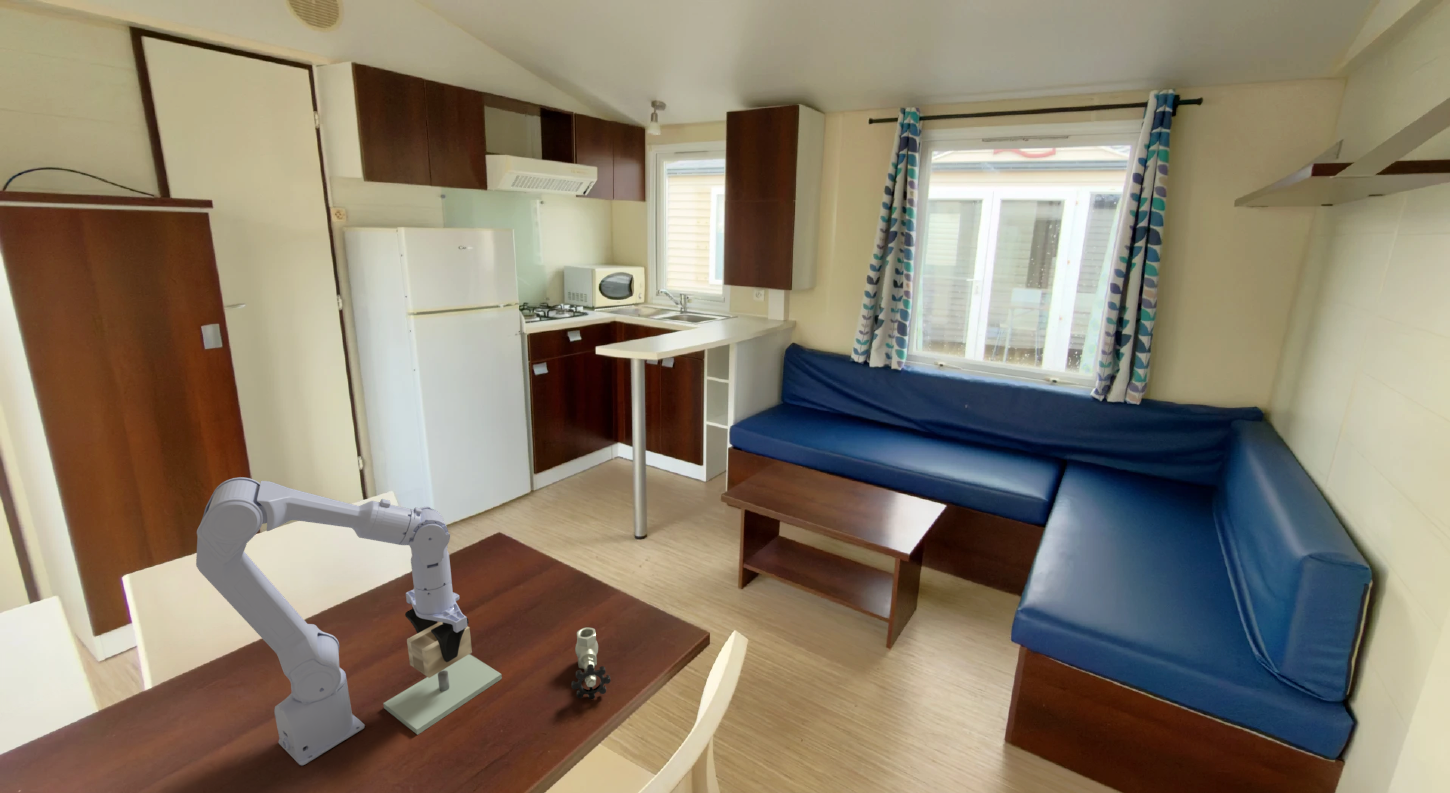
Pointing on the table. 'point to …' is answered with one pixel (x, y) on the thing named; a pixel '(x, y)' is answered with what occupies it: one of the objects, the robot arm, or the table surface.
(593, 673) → the valve
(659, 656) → the table surface
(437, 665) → the collar block
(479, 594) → the table surface
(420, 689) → the pin base
